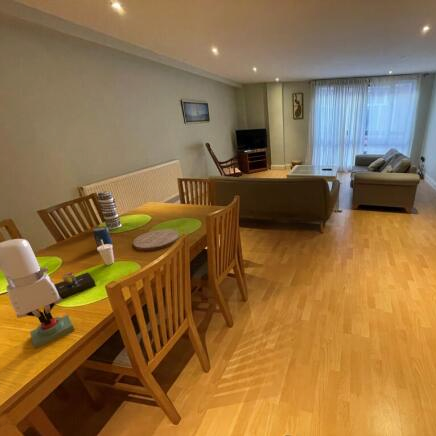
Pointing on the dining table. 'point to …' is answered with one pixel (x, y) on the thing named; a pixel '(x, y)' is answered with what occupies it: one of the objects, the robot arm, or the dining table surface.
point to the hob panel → (75, 286)
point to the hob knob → (69, 279)
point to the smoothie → (106, 253)
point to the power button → (49, 324)
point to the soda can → (102, 236)
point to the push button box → (51, 332)
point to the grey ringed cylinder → (109, 210)
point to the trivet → (156, 239)
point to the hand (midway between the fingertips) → (47, 322)
